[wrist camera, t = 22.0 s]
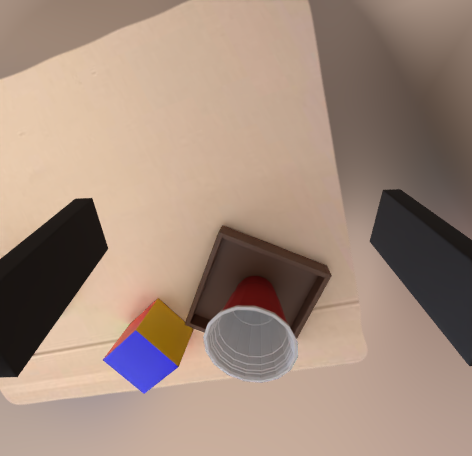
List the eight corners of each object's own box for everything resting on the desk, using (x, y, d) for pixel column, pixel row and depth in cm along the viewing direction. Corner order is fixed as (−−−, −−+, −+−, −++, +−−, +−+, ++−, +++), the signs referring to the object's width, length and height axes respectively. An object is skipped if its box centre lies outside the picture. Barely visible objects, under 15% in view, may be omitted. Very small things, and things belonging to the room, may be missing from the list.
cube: (158, 298, 45) (135, 330, 37) (193, 329, 46) (178, 366, 38) (129, 324, 47) (102, 359, 39) (163, 354, 48) (144, 393, 41)
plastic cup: (205, 285, 42) (182, 338, 31) (261, 246, 39) (258, 289, 28) (248, 333, 44) (241, 400, 33) (304, 300, 41) (318, 361, 30)
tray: (327, 265, 40) (331, 275, 37) (282, 348, 45) (283, 363, 42) (222, 225, 40) (218, 231, 37) (189, 313, 45) (184, 325, 42)
